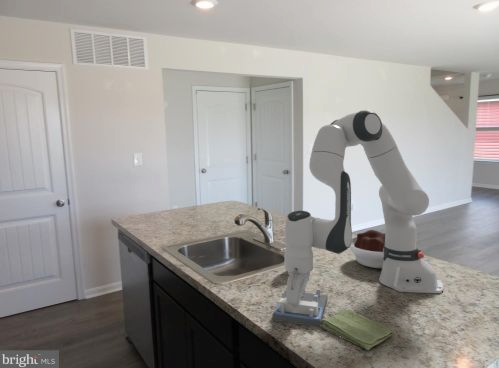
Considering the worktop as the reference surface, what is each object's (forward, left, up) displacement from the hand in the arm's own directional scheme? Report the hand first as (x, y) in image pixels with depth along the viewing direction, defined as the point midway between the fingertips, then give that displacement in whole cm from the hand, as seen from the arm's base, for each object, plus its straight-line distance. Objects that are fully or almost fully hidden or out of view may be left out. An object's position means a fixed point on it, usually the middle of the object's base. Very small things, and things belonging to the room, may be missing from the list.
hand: (298, 304), depth 118 cm
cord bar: (0, 0, -2) cm, 2 cm away
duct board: (0, -5, -4) cm, 6 cm away
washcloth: (-18, +4, -5) cm, 19 cm away
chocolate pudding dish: (-24, -55, -4) cm, 61 cm away
